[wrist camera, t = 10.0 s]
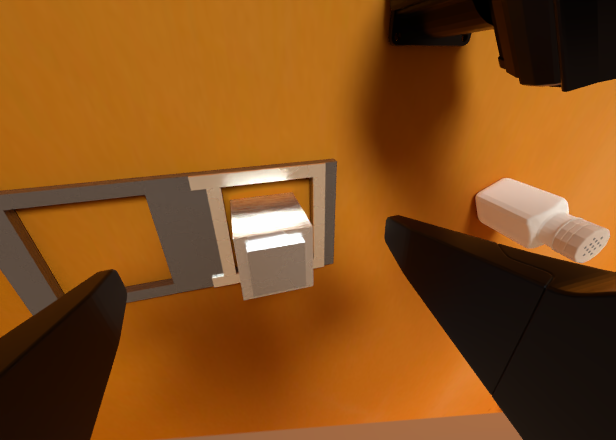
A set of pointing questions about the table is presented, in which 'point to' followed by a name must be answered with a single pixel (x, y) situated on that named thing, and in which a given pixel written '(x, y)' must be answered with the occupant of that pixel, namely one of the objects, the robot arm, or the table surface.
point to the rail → (165, 226)
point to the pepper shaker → (538, 220)
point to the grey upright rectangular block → (272, 244)
